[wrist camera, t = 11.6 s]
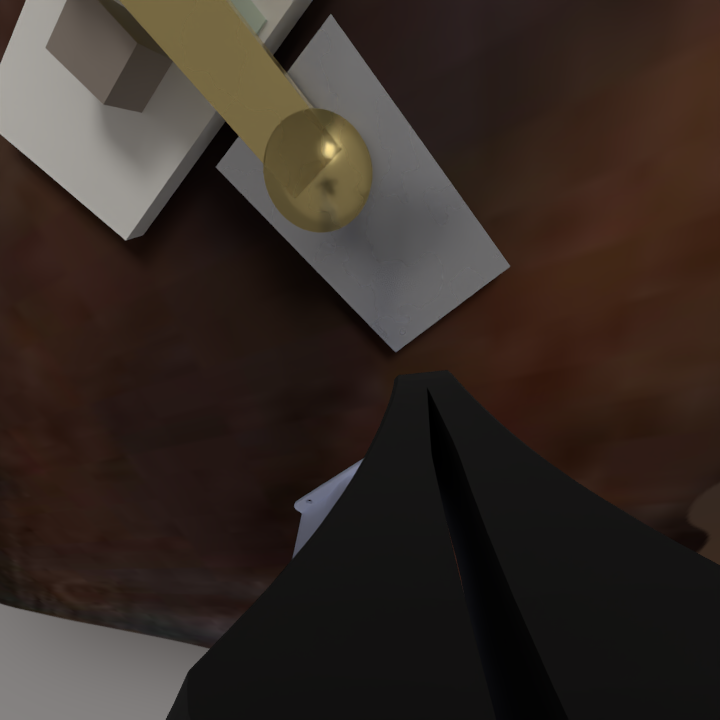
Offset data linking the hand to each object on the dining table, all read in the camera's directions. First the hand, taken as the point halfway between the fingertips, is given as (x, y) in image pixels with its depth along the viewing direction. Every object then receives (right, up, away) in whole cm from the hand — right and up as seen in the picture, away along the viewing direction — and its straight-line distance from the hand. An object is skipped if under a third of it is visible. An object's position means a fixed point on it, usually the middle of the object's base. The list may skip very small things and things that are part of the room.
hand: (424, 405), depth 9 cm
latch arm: (-6, +11, +3) cm, 13 cm away
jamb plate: (-1, +8, +8) cm, 11 cm away
